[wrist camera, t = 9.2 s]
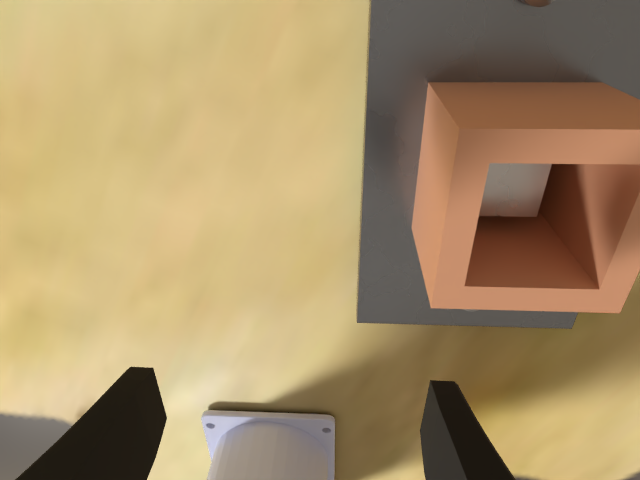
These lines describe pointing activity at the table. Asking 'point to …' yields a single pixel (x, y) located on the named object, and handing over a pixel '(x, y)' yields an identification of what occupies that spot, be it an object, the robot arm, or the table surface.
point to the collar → (556, 206)
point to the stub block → (467, 66)
